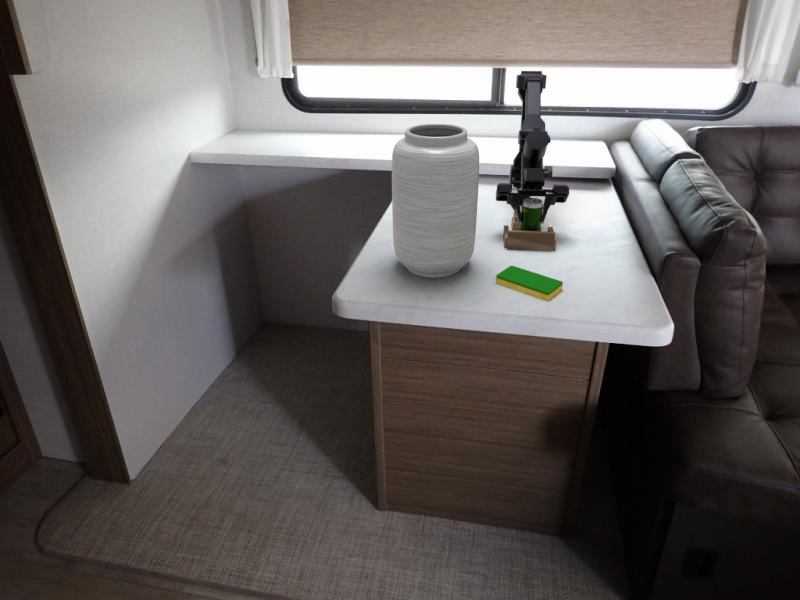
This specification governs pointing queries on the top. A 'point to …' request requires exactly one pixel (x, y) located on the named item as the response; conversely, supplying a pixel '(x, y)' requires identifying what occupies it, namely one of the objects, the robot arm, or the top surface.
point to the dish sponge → (529, 282)
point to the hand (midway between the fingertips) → (531, 222)
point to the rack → (529, 239)
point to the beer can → (531, 214)
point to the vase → (434, 199)
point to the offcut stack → (517, 223)
